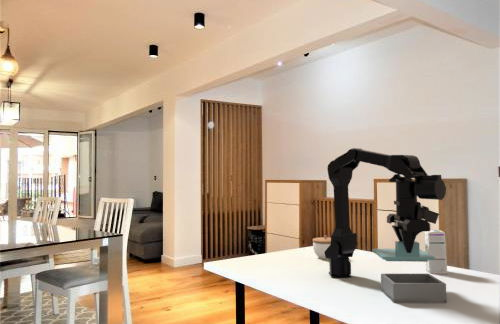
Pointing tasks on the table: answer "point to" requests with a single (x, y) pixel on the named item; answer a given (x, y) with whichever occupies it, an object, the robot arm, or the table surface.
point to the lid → (403, 253)
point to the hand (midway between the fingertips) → (407, 251)
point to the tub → (413, 288)
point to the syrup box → (436, 251)
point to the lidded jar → (321, 246)
